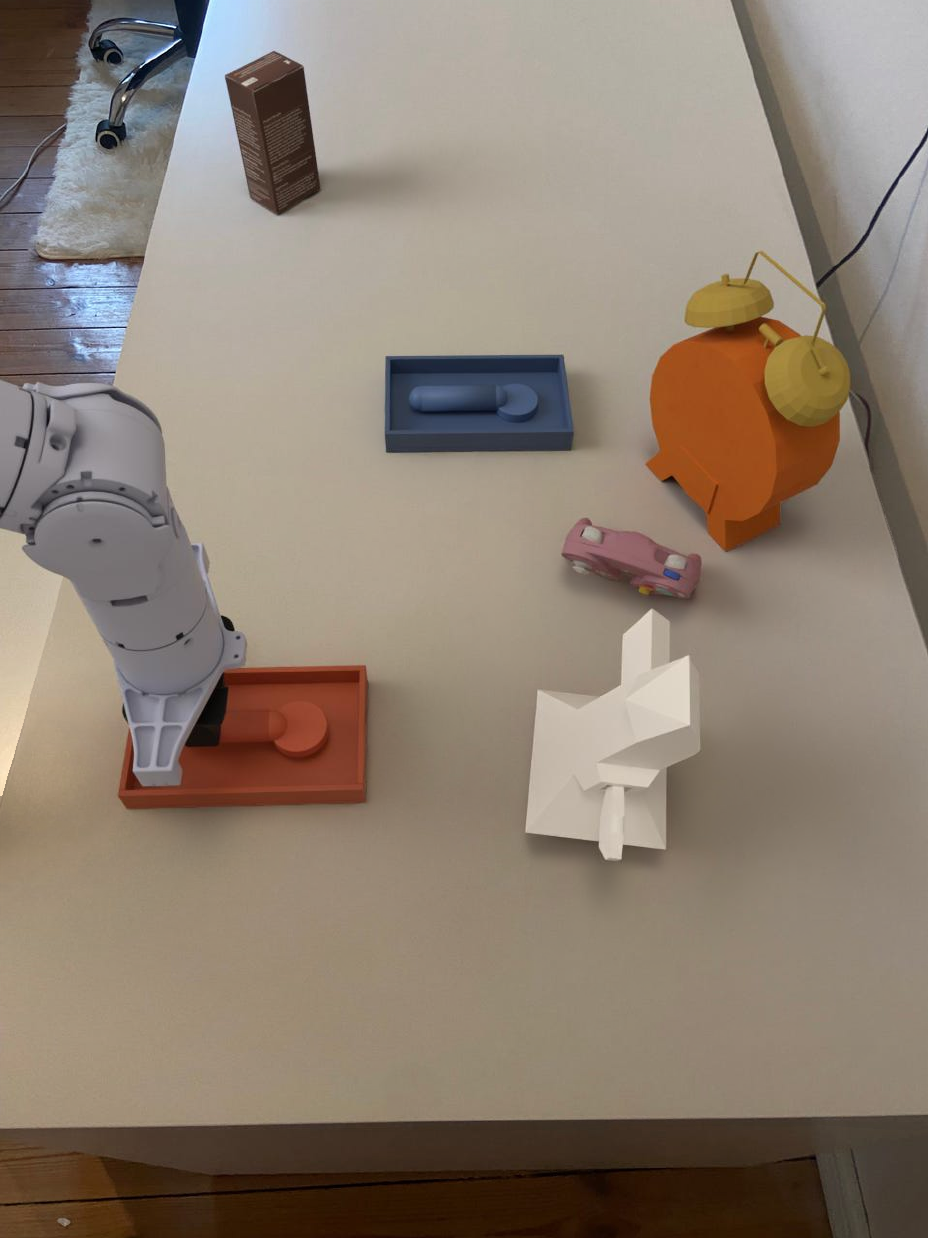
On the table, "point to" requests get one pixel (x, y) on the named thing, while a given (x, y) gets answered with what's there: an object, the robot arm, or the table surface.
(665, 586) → the pink toy car
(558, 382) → the blue tray
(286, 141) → the box
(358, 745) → the red tray
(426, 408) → the blue spoon
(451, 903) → the table surface
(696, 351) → the alarm clock
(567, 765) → the white faceted sculpture
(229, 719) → the red spoon
